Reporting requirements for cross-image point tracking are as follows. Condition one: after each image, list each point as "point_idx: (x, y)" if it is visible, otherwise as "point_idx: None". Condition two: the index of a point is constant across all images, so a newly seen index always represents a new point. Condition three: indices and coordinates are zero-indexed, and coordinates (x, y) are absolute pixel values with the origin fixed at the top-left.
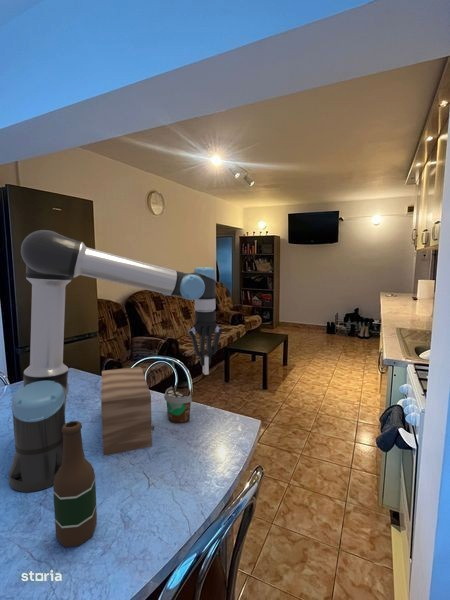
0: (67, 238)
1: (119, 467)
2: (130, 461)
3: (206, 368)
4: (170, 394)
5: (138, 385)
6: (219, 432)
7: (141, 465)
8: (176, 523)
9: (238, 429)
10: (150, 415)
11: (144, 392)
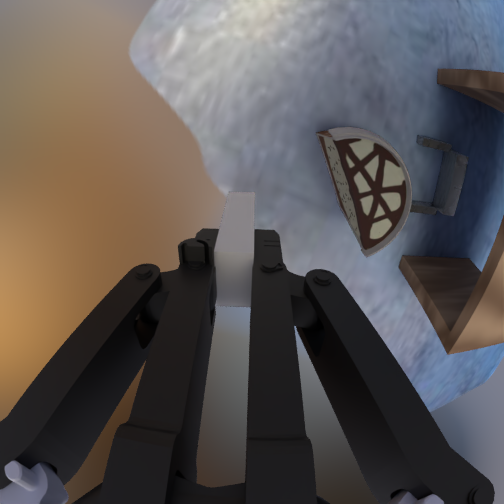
0: None
1: (491, 48)
2: (476, 50)
3: (241, 208)
4: (390, 205)
5: None
6: (248, 35)
7: (461, 24)
8: None
9: (184, 34)
10: (493, 72)
11: None
